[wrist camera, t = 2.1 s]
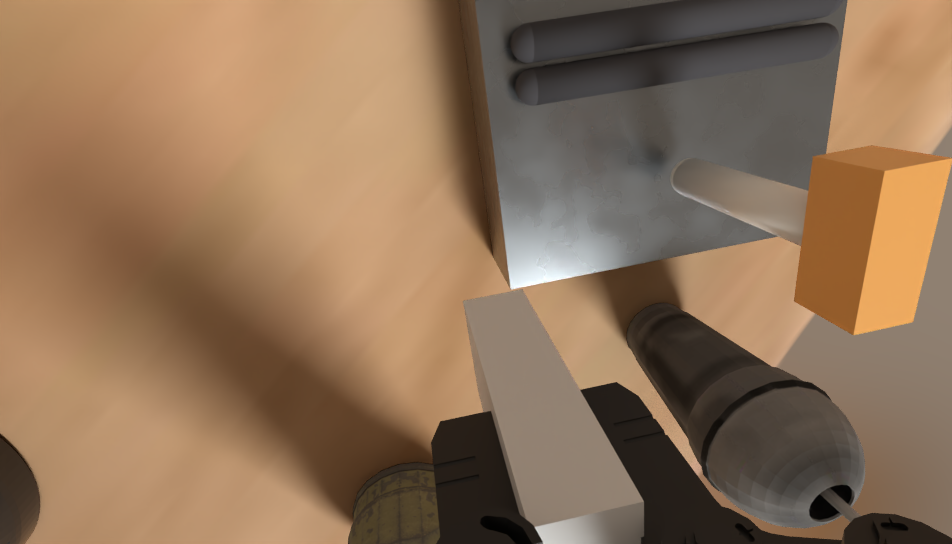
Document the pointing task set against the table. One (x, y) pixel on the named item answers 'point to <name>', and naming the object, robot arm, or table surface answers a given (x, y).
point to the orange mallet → (841, 227)
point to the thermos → (397, 507)
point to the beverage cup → (751, 422)
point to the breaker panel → (628, 147)
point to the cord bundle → (695, 14)
